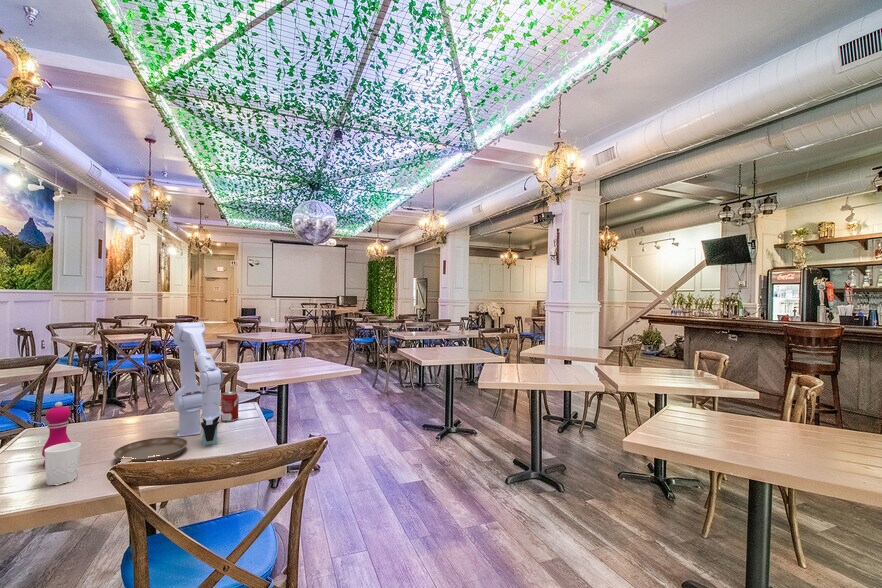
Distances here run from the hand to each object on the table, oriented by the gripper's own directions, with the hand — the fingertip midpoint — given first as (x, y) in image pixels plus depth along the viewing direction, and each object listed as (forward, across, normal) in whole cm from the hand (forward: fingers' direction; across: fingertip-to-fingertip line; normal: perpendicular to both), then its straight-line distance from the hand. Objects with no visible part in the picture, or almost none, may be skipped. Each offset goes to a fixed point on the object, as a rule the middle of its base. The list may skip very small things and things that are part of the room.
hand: (210, 438), depth 153 cm
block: (+1, 0, 0) cm, 1 cm away
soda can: (+2, +27, -6) cm, 28 cm away
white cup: (+2, -18, +37) cm, 41 cm away
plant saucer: (+2, -6, +17) cm, 18 cm away
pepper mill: (+2, -2, +43) cm, 43 cm away
